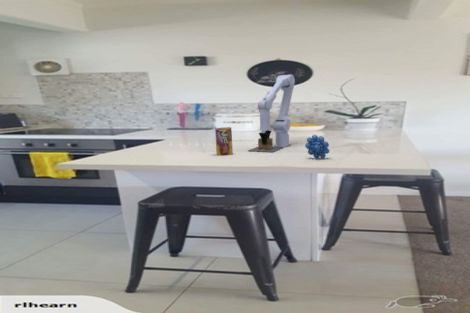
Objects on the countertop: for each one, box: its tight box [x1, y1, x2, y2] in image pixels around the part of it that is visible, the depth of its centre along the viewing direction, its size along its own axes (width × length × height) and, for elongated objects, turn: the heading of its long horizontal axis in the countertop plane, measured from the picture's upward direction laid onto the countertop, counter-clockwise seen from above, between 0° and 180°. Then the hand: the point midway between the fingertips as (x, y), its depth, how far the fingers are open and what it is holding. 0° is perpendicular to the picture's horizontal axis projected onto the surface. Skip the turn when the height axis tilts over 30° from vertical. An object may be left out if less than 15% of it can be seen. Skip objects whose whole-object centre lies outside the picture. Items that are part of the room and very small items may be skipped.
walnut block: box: [257, 137, 274, 149], centre depth 197 cm, size 4×8×6 cm, turn 75°
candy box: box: [214, 126, 234, 156], centre depth 187 cm, size 9×4×15 cm, turn 101°
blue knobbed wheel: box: [304, 134, 330, 160], centre depth 164 cm, size 12×7×12 cm, turn 73°
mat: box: [247, 146, 284, 154], centre depth 198 cm, size 16×16×1 cm
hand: (265, 143), depth 197 cm, fingers open, 7 cm apart
